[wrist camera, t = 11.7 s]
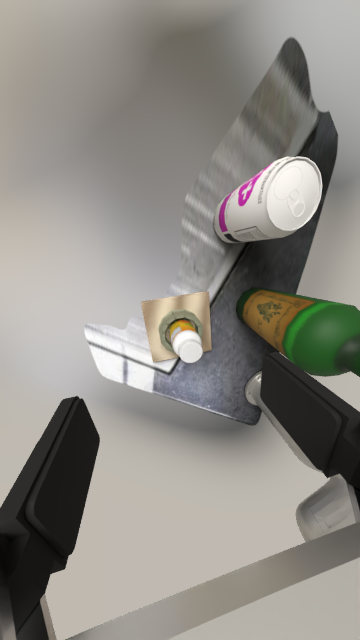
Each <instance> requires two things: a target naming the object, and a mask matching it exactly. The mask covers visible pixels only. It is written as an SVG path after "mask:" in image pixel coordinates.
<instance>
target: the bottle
mask: <svg viewBox="0 0 360 640" xmlns="http://www.w3.org/2000/svg"><path fill="white" fill-rule="evenodd" d="M236 312H237V314H238V317H239V319H241V320H242V321H243V322H244V323H245V324H247V325H248V326H249V327H250V328H252V329H253V330H254V331H255V332H256V333H258V334H259V335H260V336H261V337H262V338H264V339H265V340H266V341H267V342H268V343H270V344H271V345H272V346H273V347H275V348H276V349H277V350H278V351H279V352H281V353H282V354H283V355H284V356H286V357H287V358H288V359H289V360H290V361H291V362H293V363H294V364H295V365H296V366H298V367H299V368H300V369H302V370H303V371H305V372H307V373H309V374H310V375H316V376H335V375H340V374H344V373H347V372H350V371H351V372H353V373H354V374H356V375H357V376H359V377H360V311H359V310H358V309H357V308H356V307H355V306H352V305H346V304H342V303H336V302H331V301H326V300H321V299H316V298H310V297H306V296H301V295H295V294H290V293H285V292H280V291H275V290H270V289H265V288H251V289H249V290H248V291H246V292H244V293H243V294H242V296H241V297H240V299H239V300H238V302H237V308H236Z"/></svg>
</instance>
